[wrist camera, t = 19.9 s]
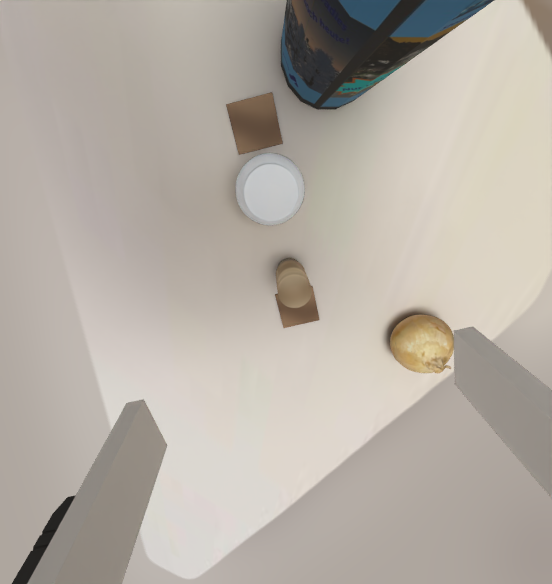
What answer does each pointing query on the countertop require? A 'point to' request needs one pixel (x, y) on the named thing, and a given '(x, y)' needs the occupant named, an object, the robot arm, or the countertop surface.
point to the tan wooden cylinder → (292, 284)
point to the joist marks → (253, 136)
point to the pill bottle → (270, 189)
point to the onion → (422, 344)
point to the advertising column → (359, 42)
